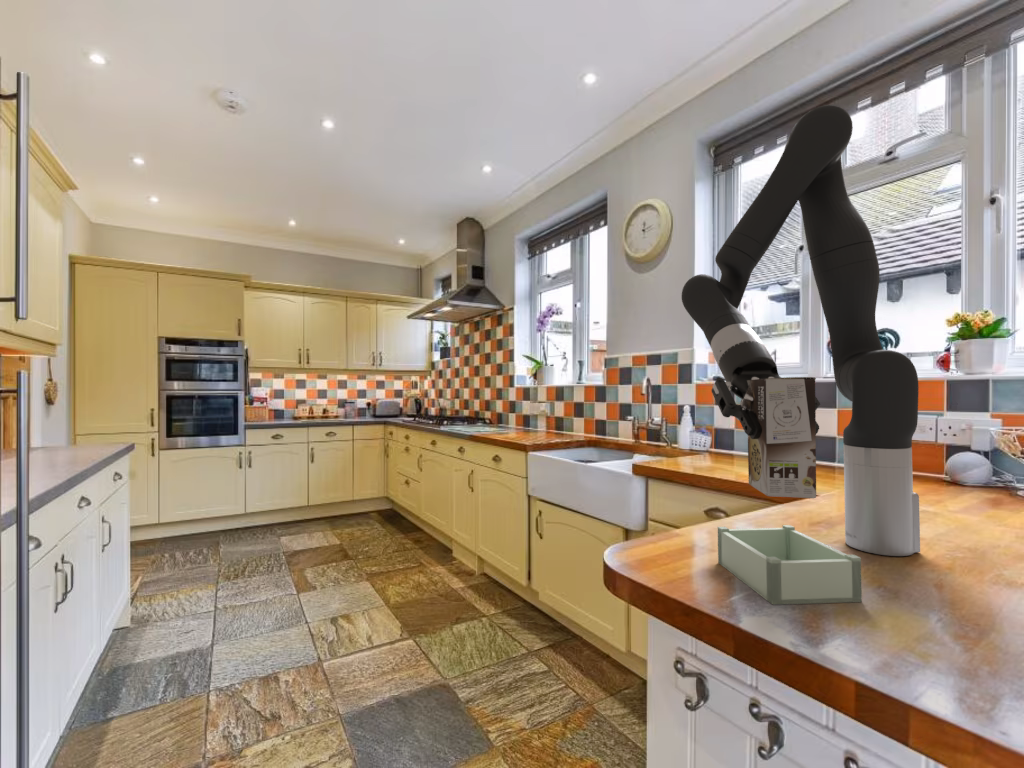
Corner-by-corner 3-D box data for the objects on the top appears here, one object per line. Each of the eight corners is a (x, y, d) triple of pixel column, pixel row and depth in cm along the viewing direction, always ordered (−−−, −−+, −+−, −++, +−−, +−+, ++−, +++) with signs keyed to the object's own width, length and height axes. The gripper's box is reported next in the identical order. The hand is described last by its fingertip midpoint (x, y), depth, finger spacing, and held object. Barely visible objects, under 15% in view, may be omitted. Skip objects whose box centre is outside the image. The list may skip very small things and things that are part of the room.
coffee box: (819, 499, 63) (817, 376, 63) (766, 497, 64) (764, 377, 64) (792, 484, 72) (791, 377, 72) (746, 483, 73) (745, 378, 73)
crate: (790, 560, 75) (789, 525, 75) (861, 601, 61) (860, 557, 61) (718, 562, 75) (717, 526, 75) (772, 604, 60) (771, 560, 60)
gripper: (705, 339, 75) (745, 418, 64) (794, 339, 76) (849, 417, 64) (692, 374, 81) (726, 452, 69) (774, 373, 81) (822, 451, 69)
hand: (785, 435), depth 67 cm, fingers closed on coffee box, 7 cm apart
